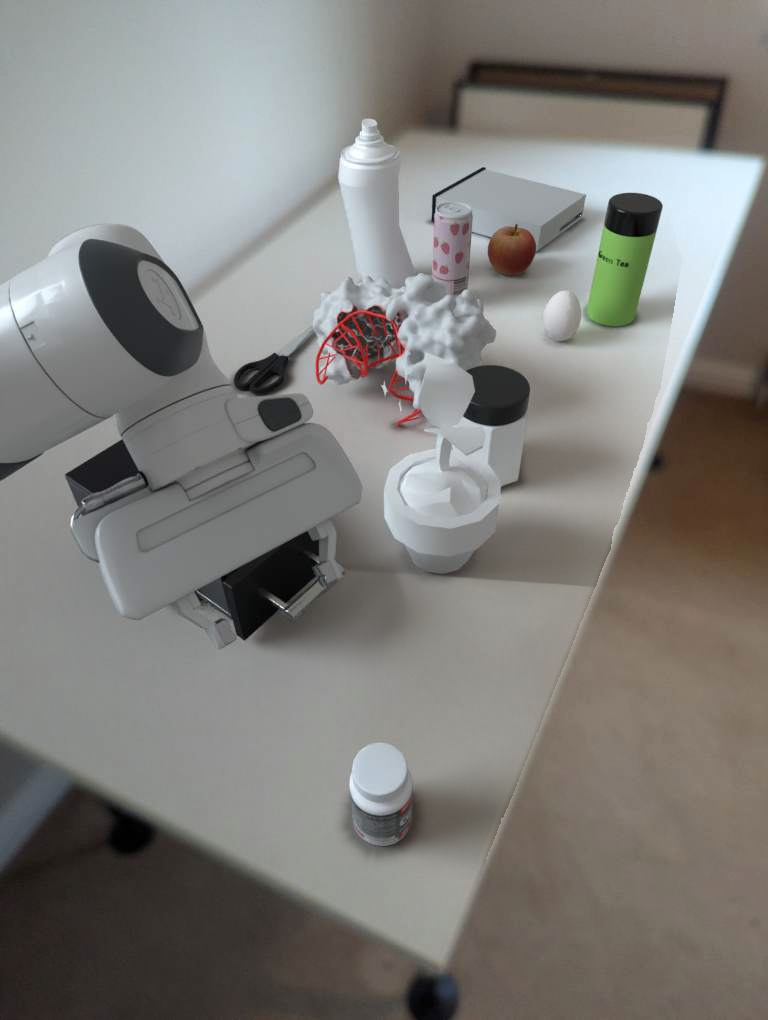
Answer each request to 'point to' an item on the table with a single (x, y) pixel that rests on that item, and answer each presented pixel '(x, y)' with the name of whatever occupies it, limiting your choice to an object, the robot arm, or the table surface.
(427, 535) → the potted plant
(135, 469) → the black drawer cabinet
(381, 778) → the pill bottle
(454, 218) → the beverage can
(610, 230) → the tumbler
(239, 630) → the drawer
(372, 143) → the spray can
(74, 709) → the table surface
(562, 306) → the egg
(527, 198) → the disc drive
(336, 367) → the molecular structure model
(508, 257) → the apple
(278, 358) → the scissors
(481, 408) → the jar
